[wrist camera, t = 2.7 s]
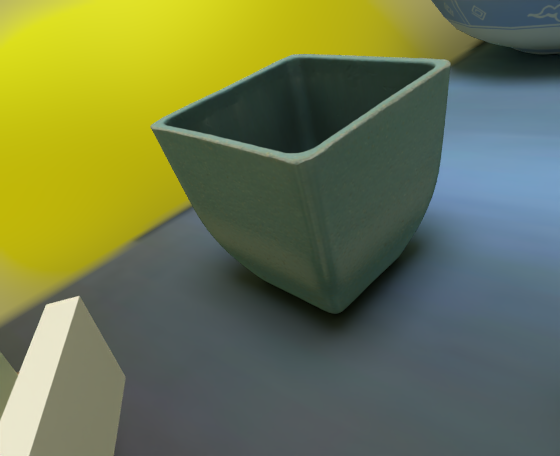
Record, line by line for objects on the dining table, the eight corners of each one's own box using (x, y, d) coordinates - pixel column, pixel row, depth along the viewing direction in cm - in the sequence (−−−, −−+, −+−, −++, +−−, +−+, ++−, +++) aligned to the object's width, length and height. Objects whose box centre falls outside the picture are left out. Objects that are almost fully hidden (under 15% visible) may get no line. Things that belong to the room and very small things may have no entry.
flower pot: (462, 245, 23) (456, 54, 19) (348, 369, 19) (301, 160, 14) (322, 204, 29) (291, 51, 24) (210, 291, 25) (144, 125, 20)
